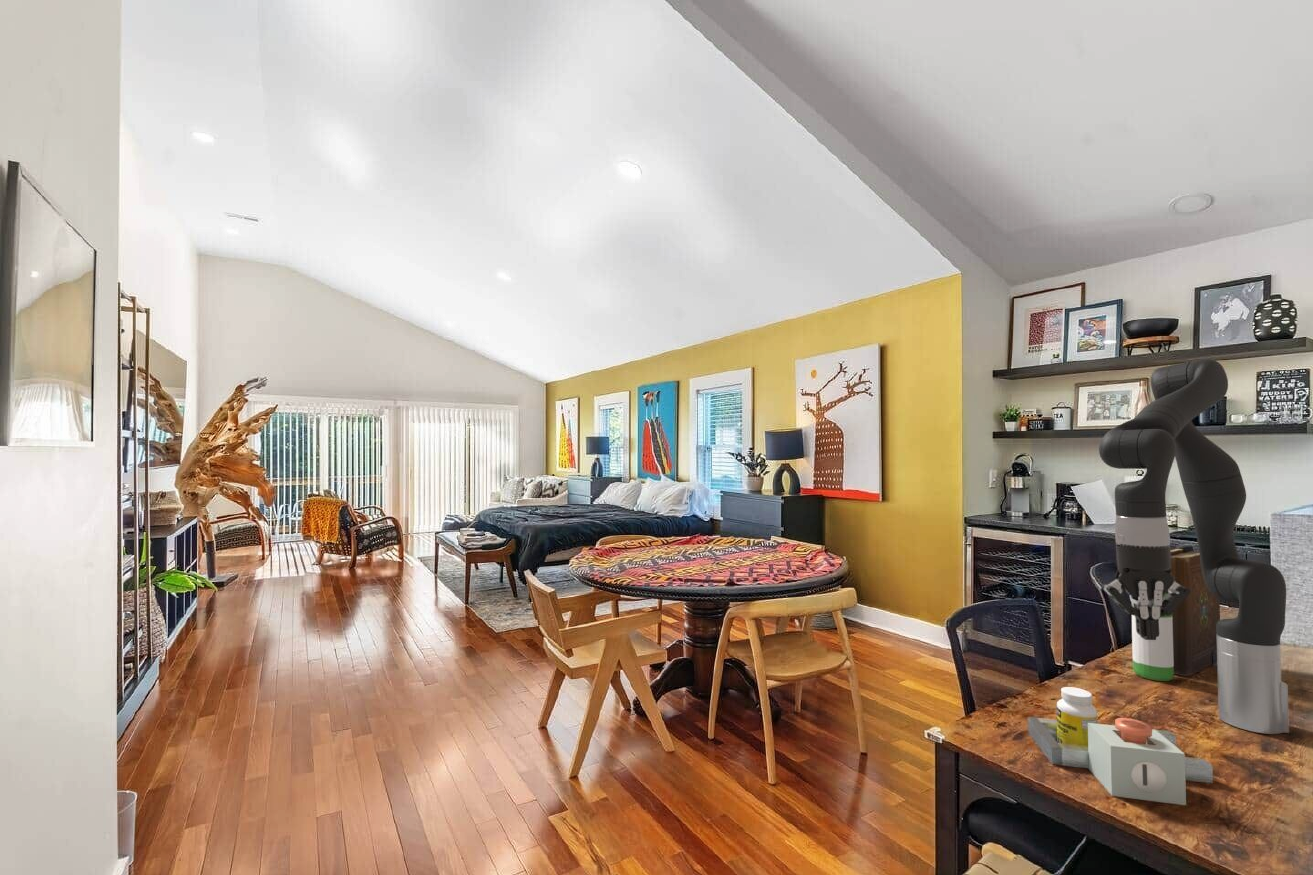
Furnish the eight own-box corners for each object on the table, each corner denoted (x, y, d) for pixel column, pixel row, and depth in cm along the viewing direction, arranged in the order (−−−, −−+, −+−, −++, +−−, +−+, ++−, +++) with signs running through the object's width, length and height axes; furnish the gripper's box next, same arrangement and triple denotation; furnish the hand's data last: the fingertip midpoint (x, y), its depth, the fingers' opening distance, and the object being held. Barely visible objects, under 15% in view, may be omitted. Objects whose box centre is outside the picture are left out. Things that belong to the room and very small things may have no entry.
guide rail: (1170, 747, 111) (1169, 731, 111) (1212, 783, 99) (1212, 765, 99) (1028, 732, 117) (1027, 716, 117) (1052, 764, 105) (1051, 746, 105)
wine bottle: (1162, 684, 140) (1159, 558, 141) (1125, 673, 147) (1123, 553, 148) (1181, 679, 143) (1178, 555, 144) (1144, 668, 150) (1141, 550, 151)
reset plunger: (1143, 743, 100) (1142, 719, 100) (1159, 757, 95) (1158, 732, 95) (1110, 739, 101) (1109, 716, 101) (1124, 753, 96) (1123, 729, 96)
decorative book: (1188, 653, 162) (1185, 543, 162) (1223, 661, 155) (1220, 547, 156) (1153, 670, 149) (1150, 551, 150) (1190, 679, 143) (1187, 555, 144)
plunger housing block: (1156, 776, 101) (1155, 729, 101) (1188, 807, 92) (1186, 755, 92) (1088, 768, 103) (1087, 722, 103) (1113, 797, 95) (1112, 747, 95)
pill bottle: (1049, 744, 112) (1048, 685, 112) (1079, 742, 113) (1078, 684, 113) (1075, 761, 106) (1073, 699, 106) (1107, 759, 106) (1105, 697, 107)
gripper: (1172, 537, 107) (1178, 633, 107) (1089, 538, 110) (1095, 631, 110) (1200, 544, 100) (1206, 647, 100) (1110, 544, 103) (1116, 644, 103)
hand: (1147, 638), depth 105 cm, fingers closed
